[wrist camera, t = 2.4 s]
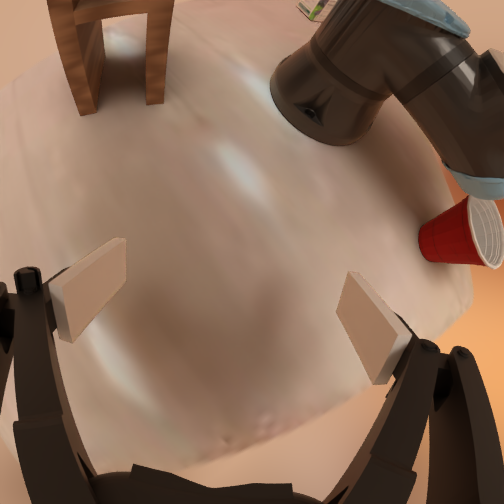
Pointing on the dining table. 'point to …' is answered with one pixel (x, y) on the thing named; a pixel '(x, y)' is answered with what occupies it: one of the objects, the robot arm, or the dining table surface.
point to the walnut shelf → (92, 45)
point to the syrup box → (316, 8)
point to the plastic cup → (465, 235)
